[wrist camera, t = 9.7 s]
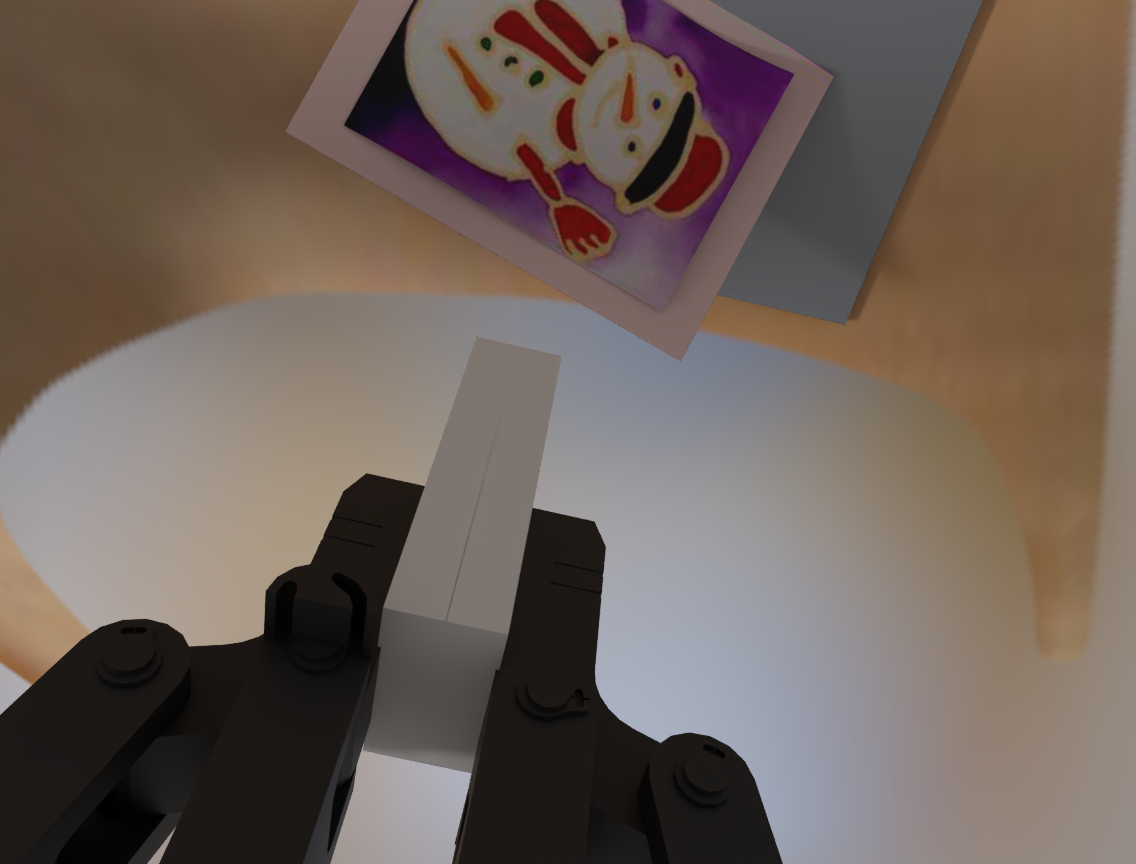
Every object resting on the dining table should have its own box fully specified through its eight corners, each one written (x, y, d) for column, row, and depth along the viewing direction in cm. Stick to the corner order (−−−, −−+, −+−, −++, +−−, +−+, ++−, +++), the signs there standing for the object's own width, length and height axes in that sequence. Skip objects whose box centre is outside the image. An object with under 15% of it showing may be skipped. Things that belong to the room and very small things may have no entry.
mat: (844, 319, 40) (845, 324, 40) (461, 230, 39) (459, 234, 39) (999, -48, 32) (1002, -46, 32) (523, -167, 32) (521, -167, 31)
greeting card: (458, -191, 31) (845, 68, 34) (445, -81, 38) (763, 124, 41) (282, 124, 30) (688, 360, 33) (303, 174, 38) (634, 364, 40)
